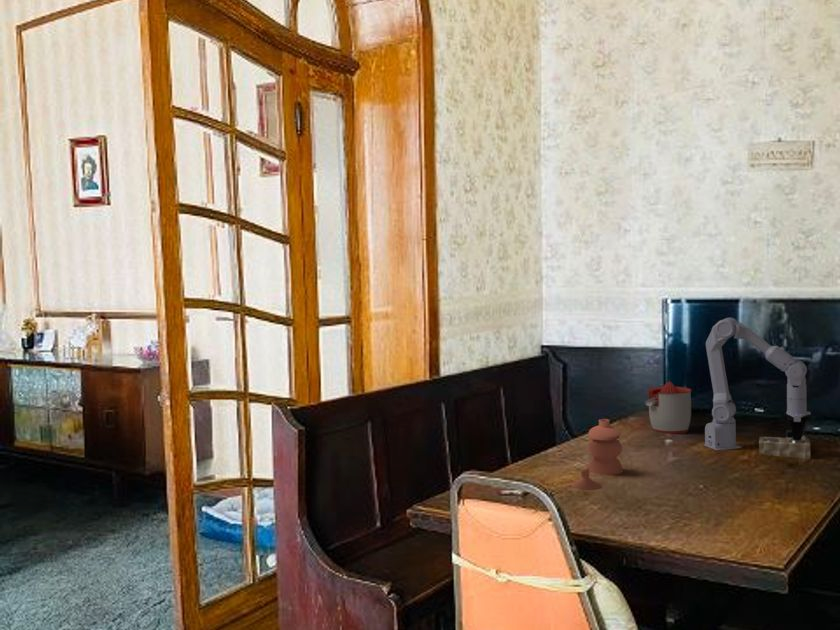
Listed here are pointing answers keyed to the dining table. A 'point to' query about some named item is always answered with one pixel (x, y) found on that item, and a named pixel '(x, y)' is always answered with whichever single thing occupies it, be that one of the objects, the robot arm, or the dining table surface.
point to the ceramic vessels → (601, 455)
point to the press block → (784, 448)
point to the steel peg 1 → (771, 440)
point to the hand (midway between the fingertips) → (797, 439)
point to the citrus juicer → (669, 408)
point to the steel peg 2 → (796, 441)
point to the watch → (789, 435)
